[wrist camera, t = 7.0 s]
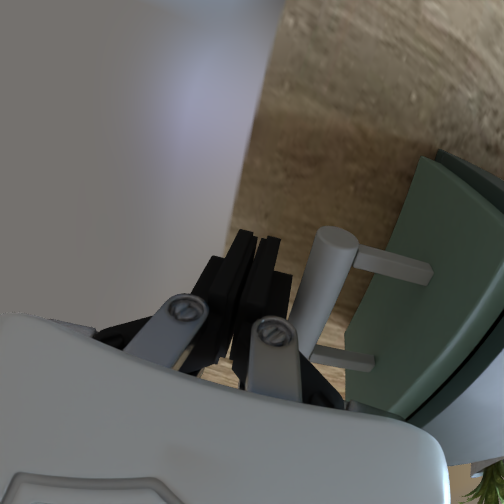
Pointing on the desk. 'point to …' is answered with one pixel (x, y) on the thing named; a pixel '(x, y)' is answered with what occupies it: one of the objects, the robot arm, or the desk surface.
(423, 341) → the drawer
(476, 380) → the cabinet
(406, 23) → the desk surface
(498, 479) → the house plant
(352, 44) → the desk surface
